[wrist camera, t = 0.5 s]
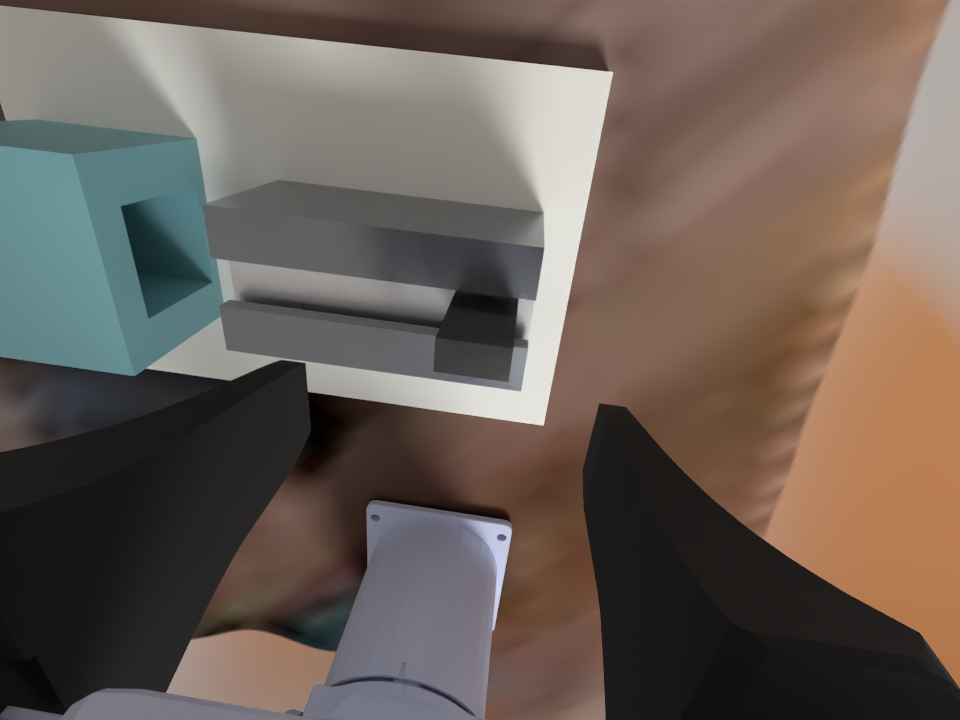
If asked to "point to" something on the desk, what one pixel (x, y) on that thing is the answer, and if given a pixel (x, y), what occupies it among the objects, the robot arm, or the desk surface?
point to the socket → (101, 246)
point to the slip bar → (402, 312)
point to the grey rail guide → (370, 268)
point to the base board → (334, 150)
